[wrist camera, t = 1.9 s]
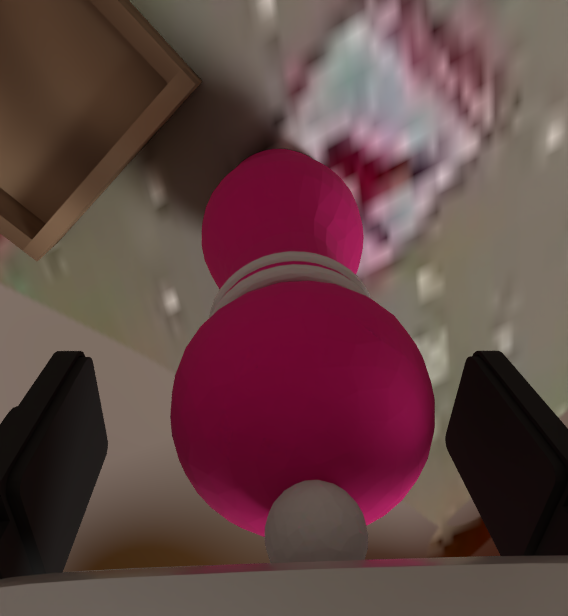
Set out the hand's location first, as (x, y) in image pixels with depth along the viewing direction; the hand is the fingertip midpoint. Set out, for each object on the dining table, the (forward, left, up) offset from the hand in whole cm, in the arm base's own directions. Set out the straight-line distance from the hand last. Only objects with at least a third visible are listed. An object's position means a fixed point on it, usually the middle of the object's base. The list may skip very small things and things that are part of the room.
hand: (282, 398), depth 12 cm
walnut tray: (+12, -6, -15) cm, 20 cm away
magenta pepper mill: (0, 0, -15) cm, 15 cm away
